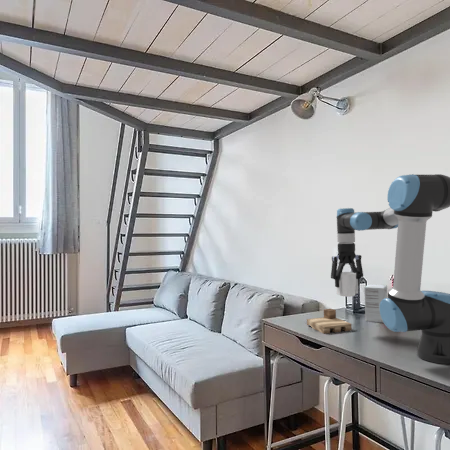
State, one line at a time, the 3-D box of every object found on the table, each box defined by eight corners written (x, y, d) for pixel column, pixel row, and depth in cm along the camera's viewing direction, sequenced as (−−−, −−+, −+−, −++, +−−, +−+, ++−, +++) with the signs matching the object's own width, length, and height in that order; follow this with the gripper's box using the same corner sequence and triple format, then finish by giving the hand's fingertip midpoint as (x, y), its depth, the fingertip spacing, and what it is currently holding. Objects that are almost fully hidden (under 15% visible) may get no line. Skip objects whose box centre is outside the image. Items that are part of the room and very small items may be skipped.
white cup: (354, 293, 186) (354, 271, 186) (358, 297, 178) (357, 274, 178) (337, 293, 187) (336, 272, 187) (339, 297, 179) (339, 274, 179)
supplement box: (369, 317, 208) (368, 284, 208) (388, 318, 204) (387, 284, 204) (365, 321, 200) (363, 286, 200) (384, 323, 195) (383, 287, 195)
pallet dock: (351, 330, 184) (351, 323, 184) (323, 333, 181) (323, 326, 181) (332, 322, 200) (332, 316, 200) (307, 325, 196) (306, 319, 196)
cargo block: (336, 318, 196) (335, 309, 196) (329, 319, 194) (329, 310, 194) (330, 316, 199) (330, 308, 199) (323, 317, 197) (323, 309, 197)
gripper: (361, 241, 189) (362, 290, 189) (321, 243, 183) (322, 294, 184) (371, 242, 181) (372, 293, 182) (329, 244, 176) (331, 297, 177)
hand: (347, 293), depth 183 cm, fingers closed on white cup, 8 cm apart
